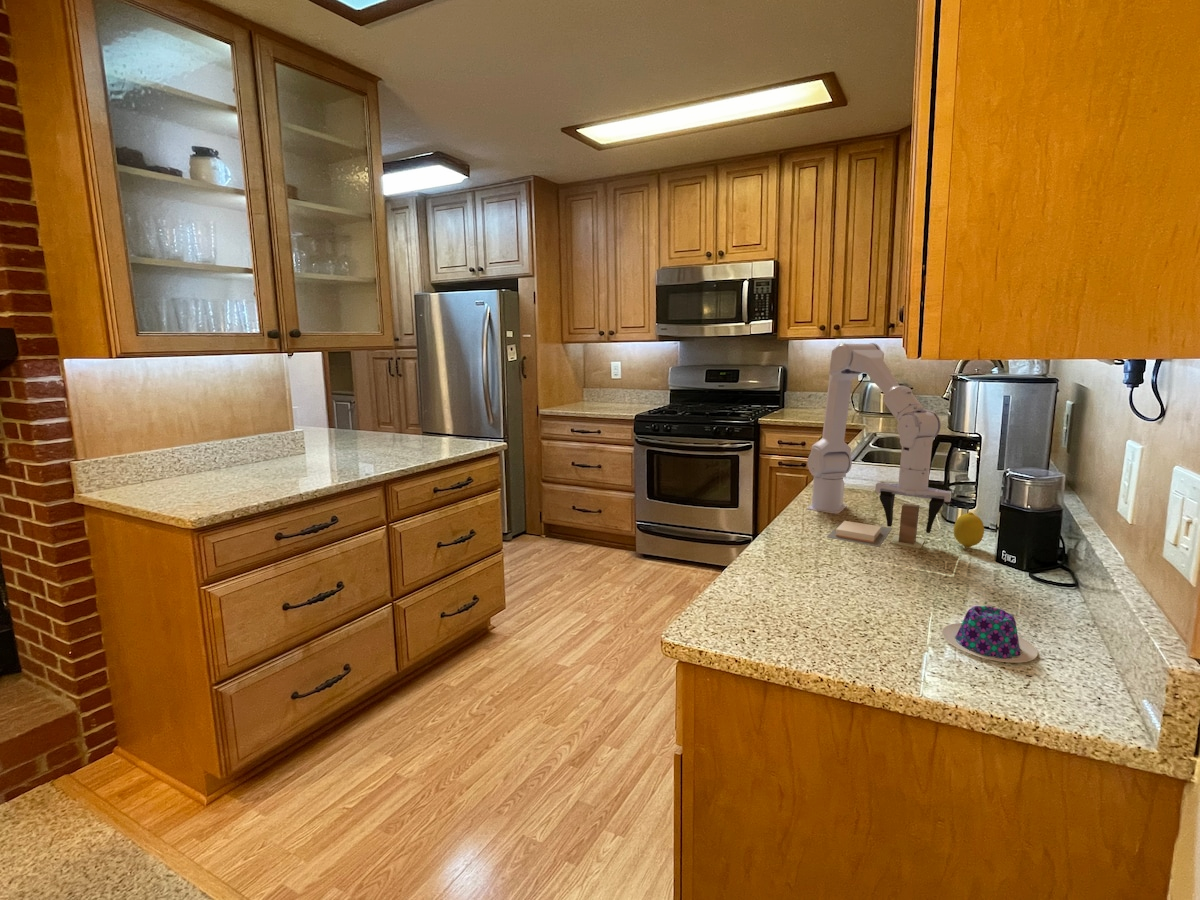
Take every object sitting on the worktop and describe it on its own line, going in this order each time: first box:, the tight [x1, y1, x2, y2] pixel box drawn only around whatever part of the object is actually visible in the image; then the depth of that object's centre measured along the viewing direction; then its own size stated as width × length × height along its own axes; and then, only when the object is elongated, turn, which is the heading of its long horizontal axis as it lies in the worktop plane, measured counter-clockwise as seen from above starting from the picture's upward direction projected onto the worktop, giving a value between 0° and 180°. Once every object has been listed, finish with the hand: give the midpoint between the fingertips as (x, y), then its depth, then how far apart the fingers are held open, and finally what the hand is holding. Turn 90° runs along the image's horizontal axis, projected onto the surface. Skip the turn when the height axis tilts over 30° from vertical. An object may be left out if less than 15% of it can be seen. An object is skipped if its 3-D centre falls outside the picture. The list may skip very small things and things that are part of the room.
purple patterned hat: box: [941, 605, 1039, 664], centre depth 90 cm, size 12×12×5 cm
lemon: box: [953, 511, 985, 549], centre depth 132 cm, size 6×6×8 cm
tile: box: [836, 520, 882, 543], centre depth 140 cm, size 2×8×8 cm
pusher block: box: [898, 503, 920, 544], centre depth 134 cm, size 3×3×8 cm
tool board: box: [890, 534, 926, 549], centre depth 135 cm, size 6×6×1 cm
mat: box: [826, 519, 893, 547], centre depth 142 cm, size 16×11×1 cm
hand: (908, 528), depth 135 cm, fingers open, 7 cm apart
